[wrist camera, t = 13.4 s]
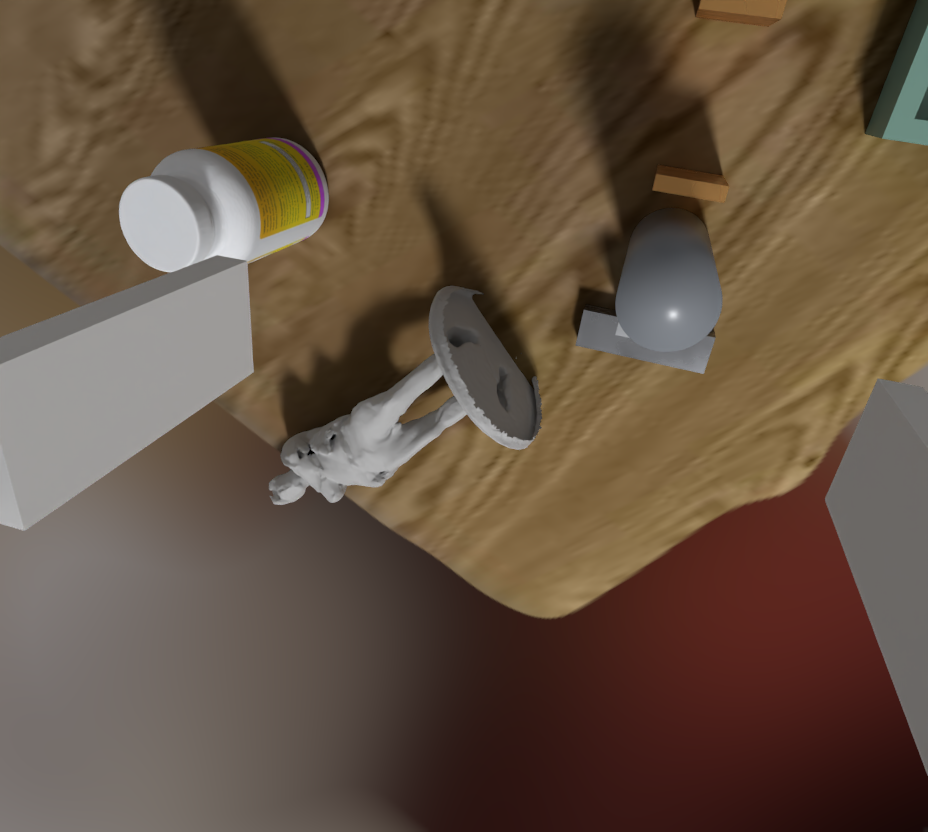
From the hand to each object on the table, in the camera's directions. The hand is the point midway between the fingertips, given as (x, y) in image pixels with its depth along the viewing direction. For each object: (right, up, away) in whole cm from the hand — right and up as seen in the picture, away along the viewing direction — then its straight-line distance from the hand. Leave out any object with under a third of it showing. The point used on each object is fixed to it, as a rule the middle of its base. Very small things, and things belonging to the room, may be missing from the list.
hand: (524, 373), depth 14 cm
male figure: (-7, 0, +36) cm, 37 cm away
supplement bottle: (-13, +14, +30) cm, 36 cm away
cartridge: (+11, +9, +25) cm, 29 cm away
